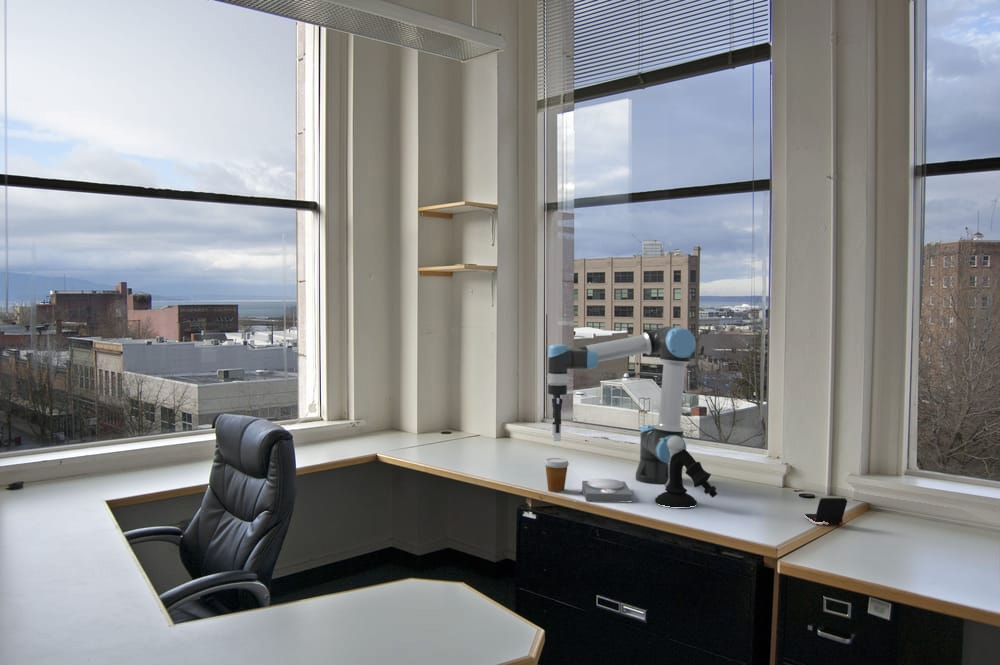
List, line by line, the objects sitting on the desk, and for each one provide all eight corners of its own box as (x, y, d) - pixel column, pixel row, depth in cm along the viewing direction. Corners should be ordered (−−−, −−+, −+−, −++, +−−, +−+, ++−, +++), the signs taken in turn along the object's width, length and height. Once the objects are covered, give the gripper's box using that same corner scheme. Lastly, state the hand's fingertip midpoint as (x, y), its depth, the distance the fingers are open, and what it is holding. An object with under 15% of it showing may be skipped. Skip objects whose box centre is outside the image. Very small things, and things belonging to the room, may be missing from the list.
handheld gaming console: (830, 518, 262) (831, 489, 262) (847, 528, 250) (848, 498, 250) (803, 517, 262) (804, 489, 262) (819, 528, 250) (820, 498, 250)
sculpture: (667, 495, 289) (669, 431, 288) (725, 507, 273) (727, 439, 272) (647, 503, 278) (648, 436, 277) (706, 516, 262) (708, 445, 261)
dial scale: (624, 489, 299) (624, 479, 299) (632, 502, 279) (632, 491, 279) (581, 488, 299) (582, 478, 299) (586, 501, 279) (586, 490, 279)
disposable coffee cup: (548, 494, 289) (549, 463, 289) (540, 488, 298) (541, 458, 298) (571, 492, 292) (572, 462, 291) (563, 486, 301) (563, 457, 300)
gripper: (547, 380, 306) (546, 432, 307) (548, 387, 281) (547, 443, 282) (565, 381, 306) (564, 432, 307) (568, 387, 281) (567, 444, 282)
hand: (556, 438), depth 294 cm, fingers open, 13 cm apart
